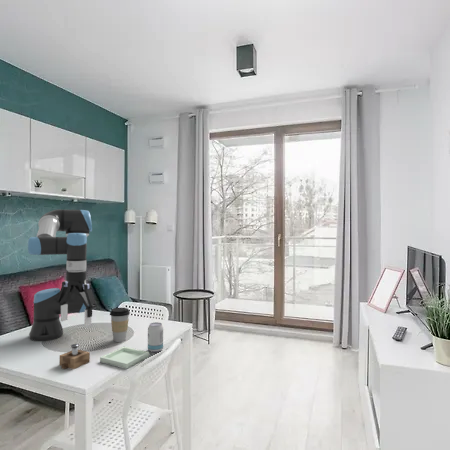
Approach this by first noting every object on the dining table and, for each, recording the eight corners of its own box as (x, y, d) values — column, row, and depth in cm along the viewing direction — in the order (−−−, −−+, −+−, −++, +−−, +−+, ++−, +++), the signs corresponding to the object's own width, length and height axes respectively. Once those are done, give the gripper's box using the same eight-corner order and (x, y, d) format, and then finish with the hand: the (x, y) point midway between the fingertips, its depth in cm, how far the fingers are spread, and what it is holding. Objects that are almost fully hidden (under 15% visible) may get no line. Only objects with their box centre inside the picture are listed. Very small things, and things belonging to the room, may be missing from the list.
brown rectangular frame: (75, 358, 145) (75, 349, 145) (89, 361, 142) (89, 352, 142) (55, 366, 136) (56, 356, 136) (70, 370, 133) (70, 360, 133)
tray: (100, 362, 142) (100, 357, 142) (124, 350, 154) (124, 346, 154) (126, 368, 135) (126, 363, 135) (149, 356, 148) (149, 352, 148)
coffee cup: (123, 344, 163) (124, 312, 163) (105, 342, 165) (106, 311, 165) (132, 337, 172) (133, 307, 172) (115, 336, 174) (116, 306, 174)
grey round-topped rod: (69, 364, 139) (69, 345, 139) (75, 361, 142) (75, 343, 142) (74, 365, 138) (74, 346, 138) (79, 363, 140) (80, 344, 140)
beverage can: (148, 347, 158) (148, 322, 158) (163, 347, 159) (164, 321, 159) (146, 353, 152) (146, 326, 152) (162, 353, 152) (162, 326, 152)
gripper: (47, 269, 142) (46, 320, 142) (91, 274, 131) (90, 329, 131) (62, 267, 148) (62, 316, 149) (106, 271, 138) (105, 324, 138)
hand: (75, 322), depth 140 cm, fingers open, 13 cm apart
